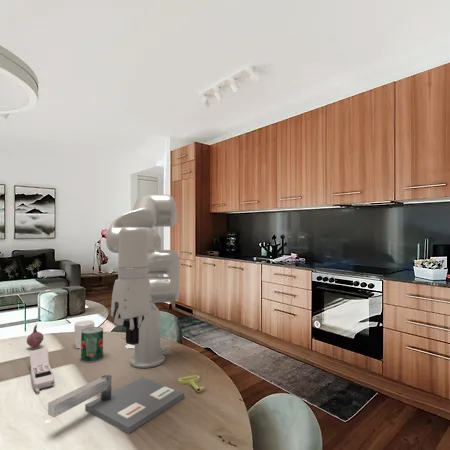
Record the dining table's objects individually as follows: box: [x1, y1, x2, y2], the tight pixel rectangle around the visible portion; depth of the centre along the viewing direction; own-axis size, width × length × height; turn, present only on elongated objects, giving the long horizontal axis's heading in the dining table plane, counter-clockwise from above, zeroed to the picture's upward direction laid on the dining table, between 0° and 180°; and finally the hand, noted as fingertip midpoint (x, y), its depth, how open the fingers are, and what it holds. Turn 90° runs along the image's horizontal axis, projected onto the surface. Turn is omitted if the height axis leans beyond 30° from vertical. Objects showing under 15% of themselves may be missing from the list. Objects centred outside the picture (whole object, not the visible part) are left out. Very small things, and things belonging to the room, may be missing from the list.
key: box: [177, 374, 206, 393], centre depth 99 cm, size 7×12×2 cm, turn 42°
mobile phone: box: [28, 347, 55, 394], centre depth 104 cm, size 6×6×25 cm
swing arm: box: [47, 374, 112, 418], centre depth 81 cm, size 3×17×6 cm, turn 151°
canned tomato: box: [80, 326, 104, 364], centre depth 120 cm, size 8×8×11 cm
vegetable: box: [26, 324, 44, 349], centre depth 131 cm, size 6×6×10 cm
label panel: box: [84, 376, 185, 434], centre depth 88 cm, size 20×18×2 cm
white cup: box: [74, 319, 95, 350], centre depth 133 cm, size 8×8×10 cm
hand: (132, 343), depth 82 cm, fingers closed
